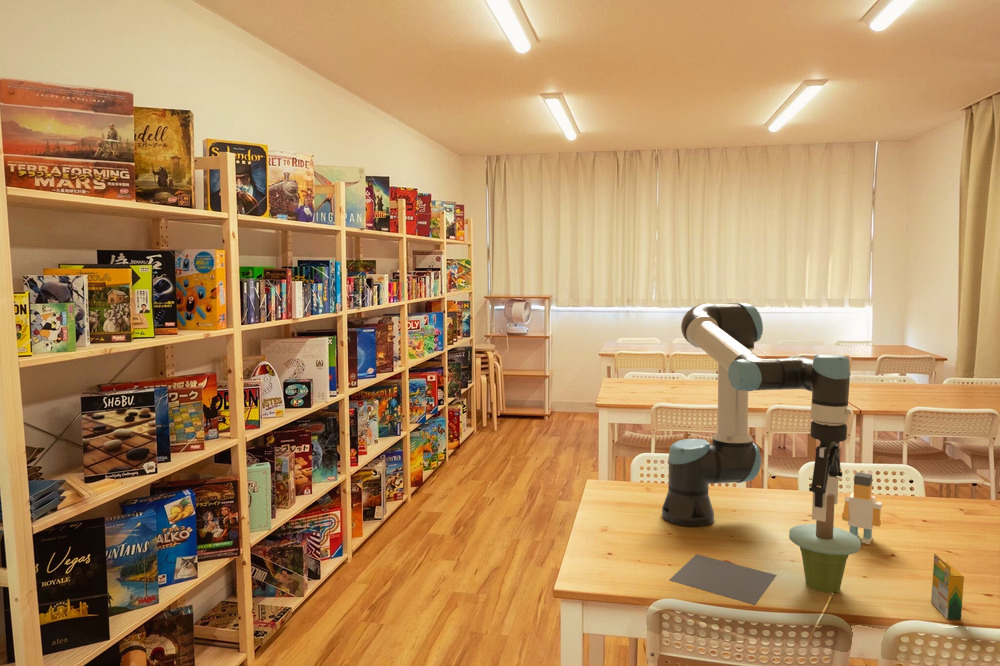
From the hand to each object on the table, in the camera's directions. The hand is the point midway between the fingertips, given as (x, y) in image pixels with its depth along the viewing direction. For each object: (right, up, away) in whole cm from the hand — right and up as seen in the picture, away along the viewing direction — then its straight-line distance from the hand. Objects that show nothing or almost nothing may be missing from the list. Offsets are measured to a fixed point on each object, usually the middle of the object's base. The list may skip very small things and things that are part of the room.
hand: (825, 511), depth 154 cm
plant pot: (0, -19, +2) cm, 19 cm away
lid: (0, -7, +1) cm, 7 cm away
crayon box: (+22, -20, -10) cm, 31 cm away
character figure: (+24, -16, +30) cm, 41 cm away
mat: (-22, -18, +6) cm, 29 cm away
